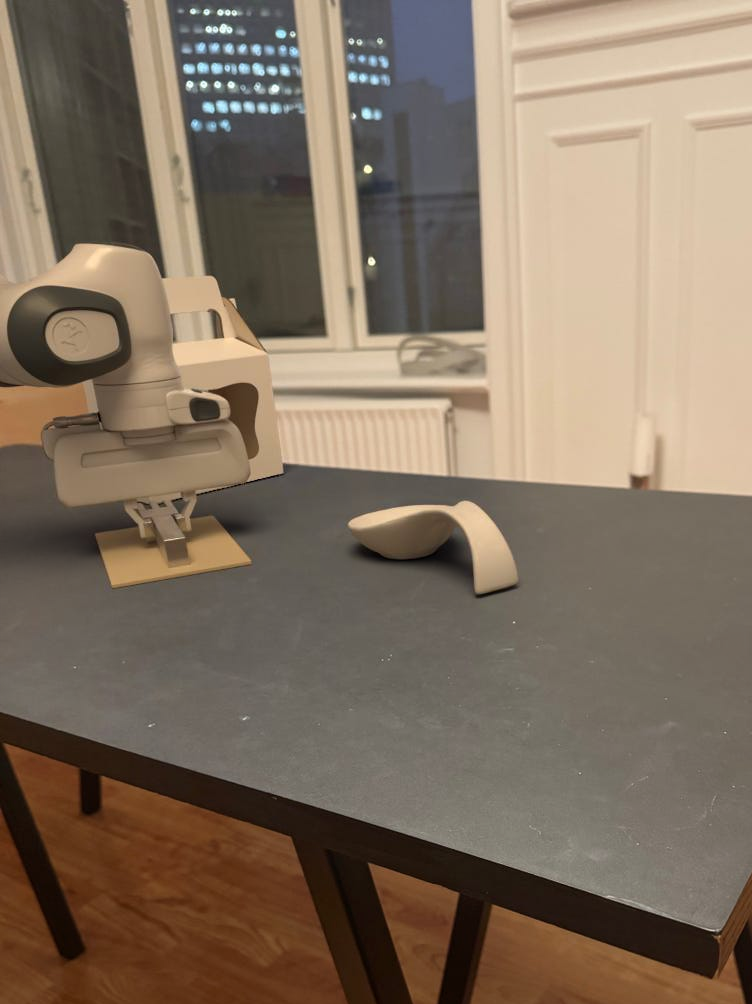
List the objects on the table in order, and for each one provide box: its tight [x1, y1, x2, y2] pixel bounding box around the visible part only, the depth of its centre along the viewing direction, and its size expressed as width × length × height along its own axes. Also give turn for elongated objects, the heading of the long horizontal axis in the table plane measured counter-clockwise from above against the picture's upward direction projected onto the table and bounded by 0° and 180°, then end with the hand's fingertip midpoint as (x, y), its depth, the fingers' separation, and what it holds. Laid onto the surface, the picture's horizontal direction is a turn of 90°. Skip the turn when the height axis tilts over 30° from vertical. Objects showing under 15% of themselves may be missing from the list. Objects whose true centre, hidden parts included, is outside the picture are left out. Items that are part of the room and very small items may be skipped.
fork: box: [135, 499, 190, 568], centre depth 103 cm, size 19×4×3 cm, turn 25°
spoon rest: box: [347, 500, 519, 595], centre depth 93 cm, size 24×12×7 cm, turn 34°
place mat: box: [94, 515, 253, 589], centre depth 103 cm, size 22×14×1 cm, turn 25°
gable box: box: [82, 275, 285, 505], centre depth 129 cm, size 22×13×28 cm, turn 137°
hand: (165, 533), depth 103 cm, fingers open, 3 cm apart
